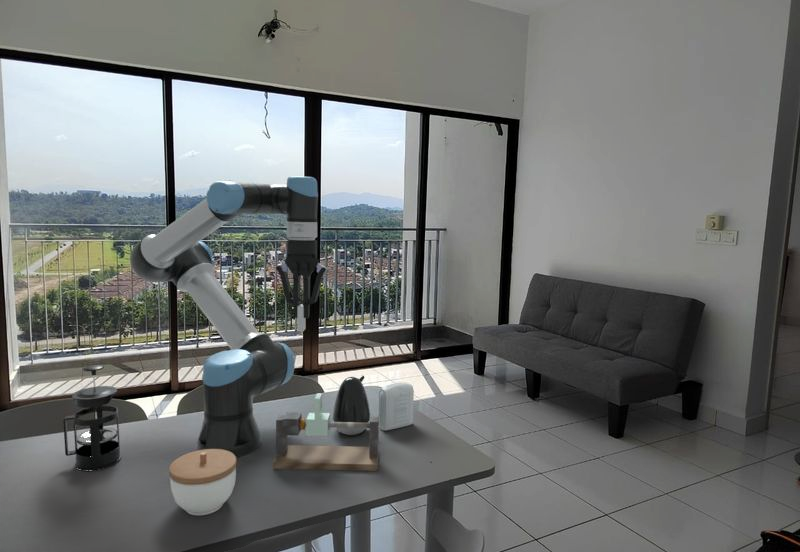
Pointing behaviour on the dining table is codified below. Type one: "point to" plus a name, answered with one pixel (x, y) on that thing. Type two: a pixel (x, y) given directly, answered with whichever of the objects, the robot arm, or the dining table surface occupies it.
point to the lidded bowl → (203, 480)
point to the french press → (94, 427)
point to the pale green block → (318, 420)
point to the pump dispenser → (351, 405)
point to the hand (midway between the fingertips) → (301, 330)
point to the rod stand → (324, 447)
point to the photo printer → (396, 406)
